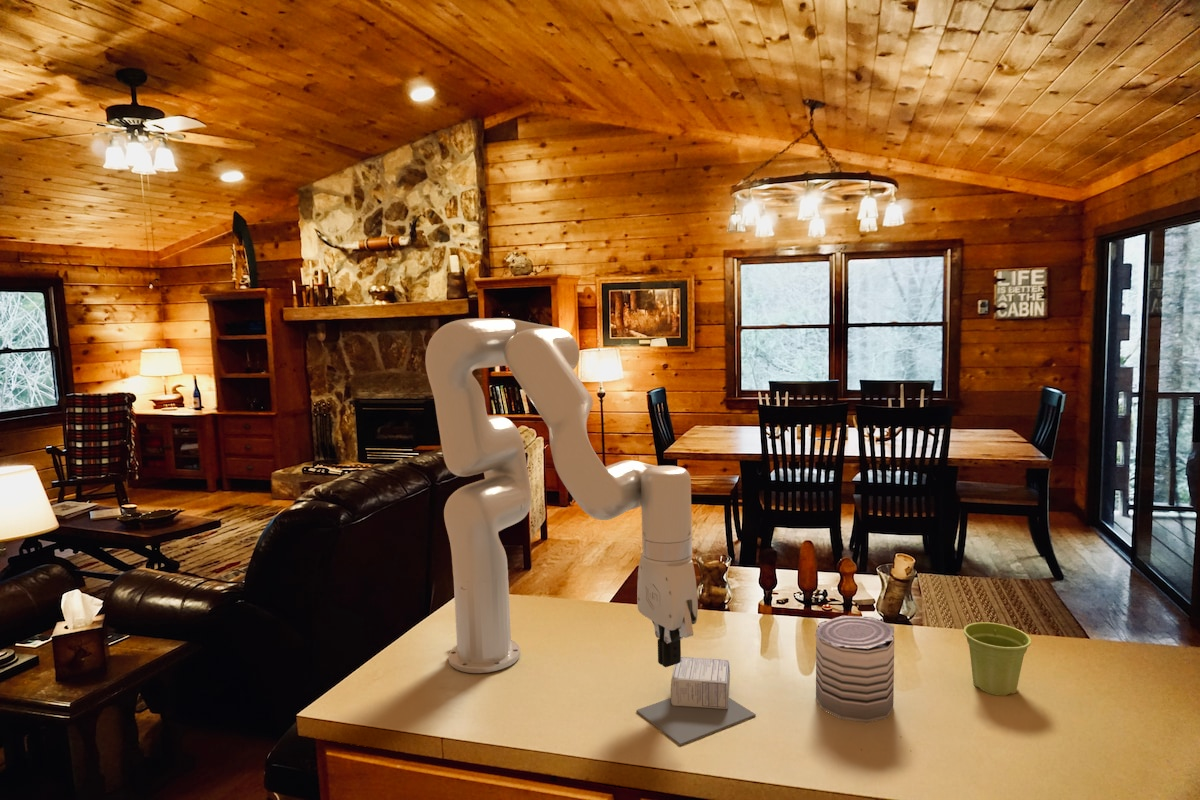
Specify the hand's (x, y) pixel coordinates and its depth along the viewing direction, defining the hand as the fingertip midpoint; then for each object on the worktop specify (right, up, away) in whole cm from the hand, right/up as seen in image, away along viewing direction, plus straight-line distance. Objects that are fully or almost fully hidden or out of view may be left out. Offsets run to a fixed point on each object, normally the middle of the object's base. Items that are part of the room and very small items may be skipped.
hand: (669, 663), depth 117 cm
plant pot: (+52, -5, +2) cm, 52 cm away
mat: (+4, -7, -3) cm, 8 cm away
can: (+28, -6, -1) cm, 29 cm away
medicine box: (+1, -4, +2) cm, 4 cm away
